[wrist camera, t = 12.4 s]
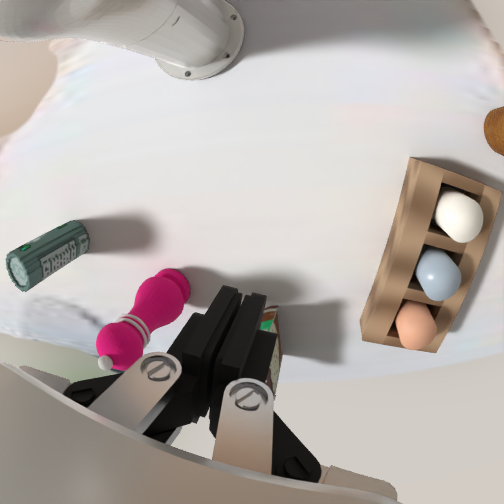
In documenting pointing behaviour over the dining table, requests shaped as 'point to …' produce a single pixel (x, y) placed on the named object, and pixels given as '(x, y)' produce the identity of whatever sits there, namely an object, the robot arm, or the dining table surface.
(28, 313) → the dining table surface
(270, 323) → the food container
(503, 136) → the disposable coffee cup
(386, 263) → the wooden egg rack
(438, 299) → the slate egg
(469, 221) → the white egg
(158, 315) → the pepper mill
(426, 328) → the terracotta egg
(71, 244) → the dark green cylinder
